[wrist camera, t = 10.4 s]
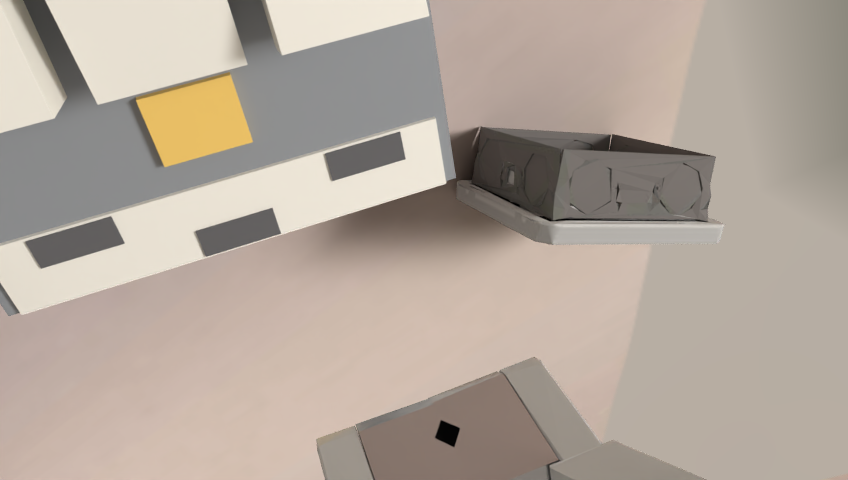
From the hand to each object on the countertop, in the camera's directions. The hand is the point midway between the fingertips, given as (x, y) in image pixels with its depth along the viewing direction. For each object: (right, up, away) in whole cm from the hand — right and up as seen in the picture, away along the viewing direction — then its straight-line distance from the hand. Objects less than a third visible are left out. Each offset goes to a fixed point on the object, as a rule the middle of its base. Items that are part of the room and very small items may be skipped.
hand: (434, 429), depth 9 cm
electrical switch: (+6, +7, +27) cm, 29 cm away
